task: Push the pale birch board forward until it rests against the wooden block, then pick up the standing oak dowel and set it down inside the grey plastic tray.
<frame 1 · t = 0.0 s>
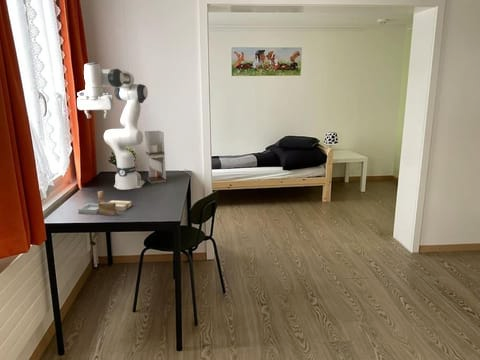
hand: (97, 118, 210), 48 cm above the table, tool pointing down, fingers open, 8 cm apart
tray: (92, 210, 202), on the table
board: (117, 208, 207), on the table
display case: (156, 181, 268), on the table
dowel: (101, 205, 212), on the table
wooden block: (107, 214, 197), on the table
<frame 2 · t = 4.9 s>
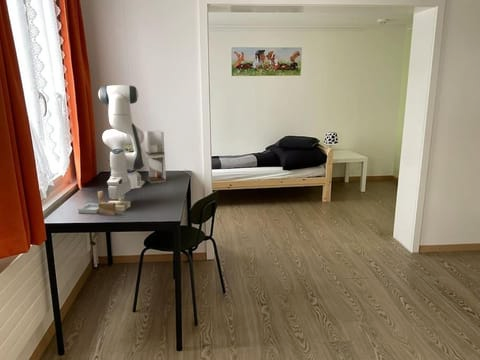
hand: (121, 202, 212), 2 cm above the table, tool pointing down, fingers closed
board: (116, 208, 206), on the table, touching gripper
everything else where it was.
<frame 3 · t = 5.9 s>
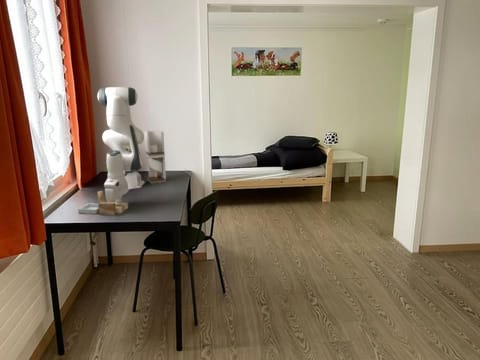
hand: (118, 204, 209), 1 cm above the table, tool pointing down, fingers closed
board: (113, 210, 203), on the table, touching wooden block, gripper
everything else where it was.
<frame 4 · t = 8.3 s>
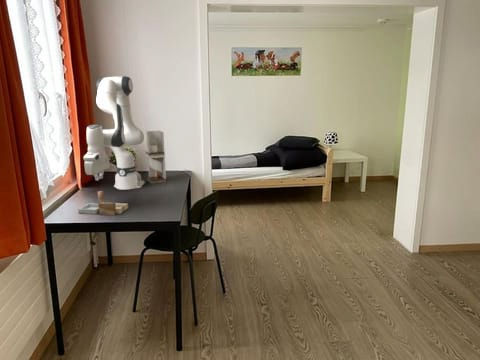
hand: (99, 179, 208), 15 cm above the table, tool pointing down, fingers closed
board: (113, 211, 203), on the table
everything else where it was.
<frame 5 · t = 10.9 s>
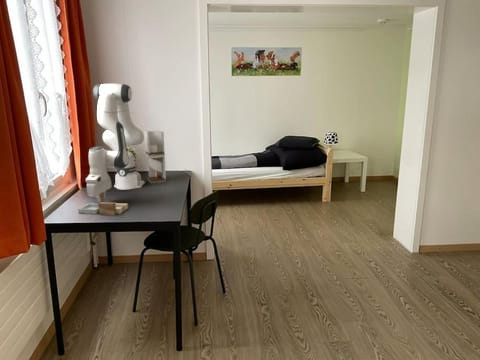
hand: (101, 200, 211), 3 cm above the table, tool pointing down, fingers closed on dowel, 3 cm apart
dowel: (101, 205, 212), on the table, touching gripper
everything else where it was.
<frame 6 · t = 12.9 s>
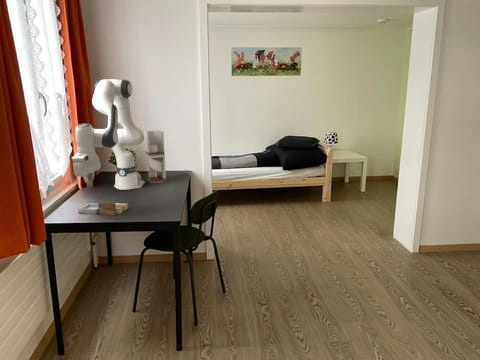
hand: (89, 181, 198), 16 cm above the table, tool pointing down, fingers closed on dowel, 3 cm apart
dowel: (89, 186, 199), point 13 cm above the table, touching gripper
everything else where it was.
when the fingers open (6 cm above the table, at t = 15.0 s): dowel drops 2 cm, resting on tray.
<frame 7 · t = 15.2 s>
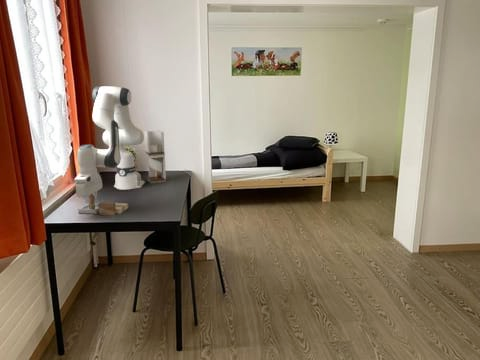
hand: (91, 200, 201), 6 cm above the table, tool pointing down, fingers open, 5 cm apart
dowel: (92, 209, 202), point 1 cm above the table, touching tray
everything else where it was.
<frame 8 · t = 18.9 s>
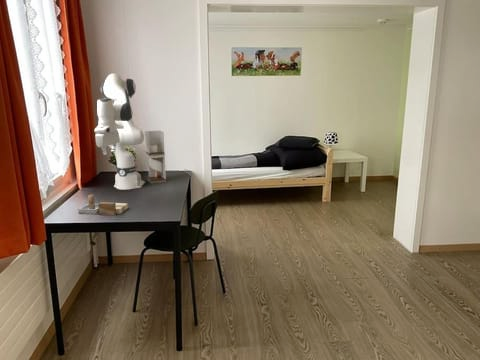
hand: (109, 153, 209), 29 cm above the table, tool pointing down, fingers open, 8 cm apart
nothing on the table moved.
at the end: board 0.2 cm from the target spot, on the table; dowel inside the target area on the tray (0.1 cm from its centre), point 0.6 cm above the tray's base; the gripper is holding nothing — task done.
